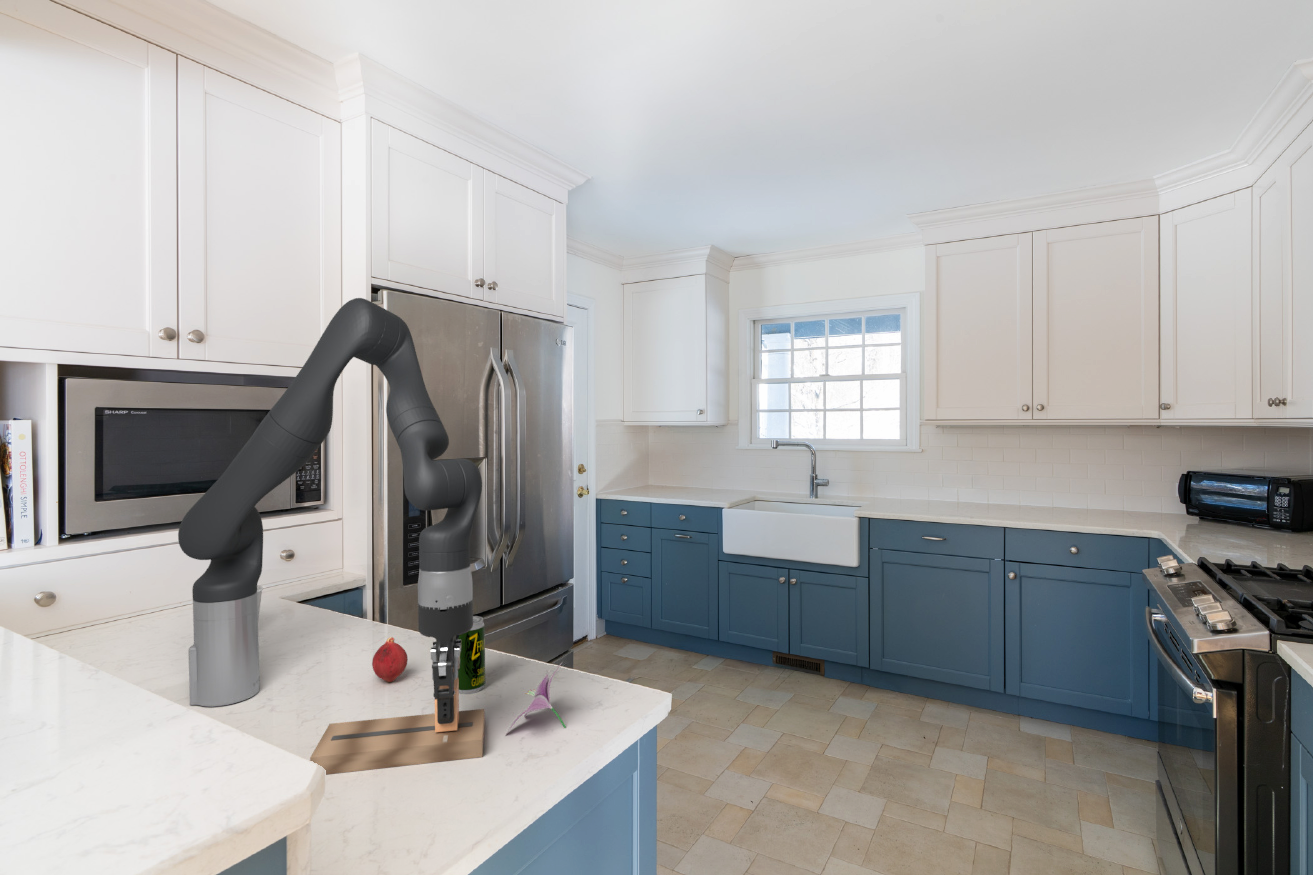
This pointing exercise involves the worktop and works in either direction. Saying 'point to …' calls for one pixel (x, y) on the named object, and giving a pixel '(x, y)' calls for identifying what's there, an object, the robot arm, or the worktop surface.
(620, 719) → the worktop surface
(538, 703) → the lily
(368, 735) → the fader base
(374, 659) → the onion
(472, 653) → the green soda can
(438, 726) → the fader knob
